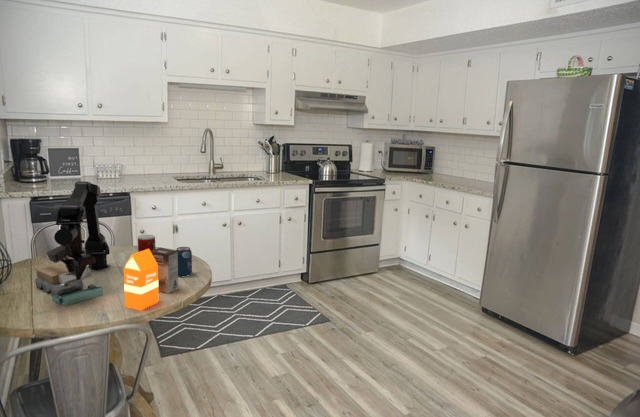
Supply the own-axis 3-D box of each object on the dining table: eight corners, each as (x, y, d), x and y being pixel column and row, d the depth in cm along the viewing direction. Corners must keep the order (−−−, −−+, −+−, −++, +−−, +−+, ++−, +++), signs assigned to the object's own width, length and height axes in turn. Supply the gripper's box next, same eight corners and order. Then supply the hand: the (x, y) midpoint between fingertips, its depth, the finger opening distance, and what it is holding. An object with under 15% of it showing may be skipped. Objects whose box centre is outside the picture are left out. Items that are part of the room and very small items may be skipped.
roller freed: (86, 276, 168) (85, 266, 167) (91, 278, 166) (91, 268, 165) (59, 283, 160) (58, 273, 159) (64, 285, 158) (63, 275, 157)
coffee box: (149, 290, 173) (148, 251, 170) (160, 285, 179) (159, 247, 176) (168, 294, 170) (167, 254, 167) (179, 288, 176) (178, 250, 173)
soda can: (192, 276, 190) (192, 250, 188) (175, 278, 187) (175, 251, 185) (191, 271, 196) (191, 245, 194) (175, 272, 194) (174, 246, 192)
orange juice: (124, 306, 157) (122, 253, 153) (142, 298, 165) (140, 247, 161) (142, 310, 154) (140, 256, 151) (159, 301, 162) (157, 249, 159)
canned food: (149, 261, 208) (149, 239, 206) (134, 259, 210) (134, 237, 207) (158, 257, 215) (158, 235, 213) (144, 255, 217) (143, 233, 215)
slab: (61, 271, 178) (60, 264, 177) (76, 277, 171) (76, 270, 171) (37, 277, 170) (36, 269, 170) (52, 284, 164) (51, 276, 163)
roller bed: (68, 279, 181) (67, 269, 180) (104, 294, 167) (103, 283, 166) (29, 289, 169) (28, 278, 168) (63, 306, 155) (63, 295, 154)
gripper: (36, 237, 158) (40, 278, 161) (62, 247, 148) (66, 290, 151) (68, 232, 167) (70, 271, 170) (95, 240, 157) (97, 282, 160)
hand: (75, 278), depth 163 cm, fingers closed on roller freed, 4 cm apart
